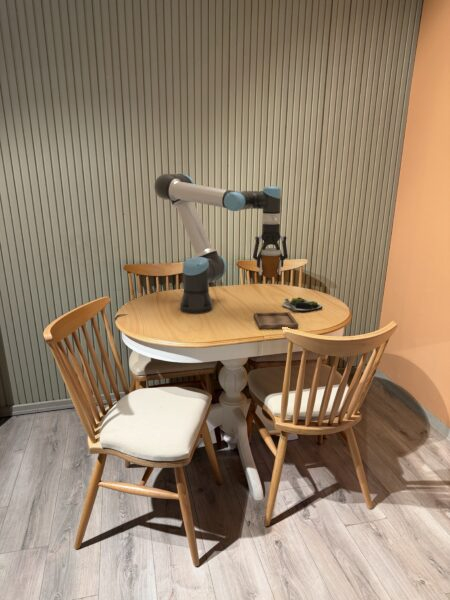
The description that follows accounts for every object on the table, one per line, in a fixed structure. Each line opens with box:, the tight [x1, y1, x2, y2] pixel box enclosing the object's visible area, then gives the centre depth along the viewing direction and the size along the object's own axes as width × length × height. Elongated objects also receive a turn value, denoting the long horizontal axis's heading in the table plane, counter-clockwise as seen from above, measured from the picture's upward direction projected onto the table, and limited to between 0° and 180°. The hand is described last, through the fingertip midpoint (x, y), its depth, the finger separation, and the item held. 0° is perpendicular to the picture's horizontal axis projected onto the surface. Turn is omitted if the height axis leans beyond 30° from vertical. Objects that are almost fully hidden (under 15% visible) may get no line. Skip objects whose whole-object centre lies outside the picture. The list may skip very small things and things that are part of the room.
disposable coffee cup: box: [260, 247, 282, 278], centre depth 186 cm, size 10×10×12 cm
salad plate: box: [281, 296, 323, 314], centre depth 198 cm, size 19×18×5 cm
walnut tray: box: [253, 311, 299, 330], centre depth 176 cm, size 16×16×2 cm
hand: (269, 274), depth 187 cm, fingers closed on disposable coffee cup, 8 cm apart
